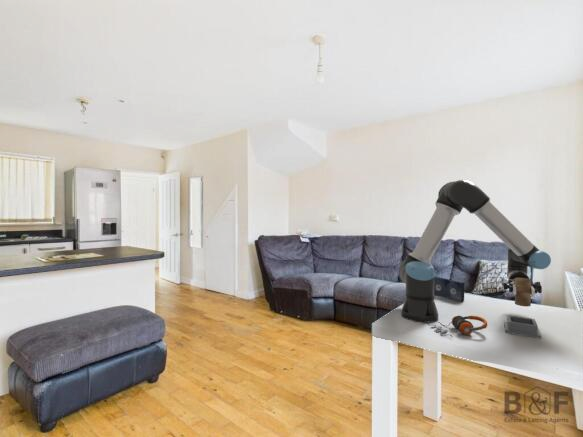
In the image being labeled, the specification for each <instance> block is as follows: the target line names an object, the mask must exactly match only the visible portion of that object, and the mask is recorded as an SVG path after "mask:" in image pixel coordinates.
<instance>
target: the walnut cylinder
mask: <svg viewBox="0 0 583 437" xmlns="http://www.w3.org/2000/svg"><path fill="white" fill-rule="evenodd" d="M531 281H532V279H531V278H529V279H528V278H515V286H516V295H514V304H515V305H517V306H519V307H531V306H532V305H531V304H532V303H531V302H532V301H531V300H532V299H531V298H532V295H531Z"/></svg>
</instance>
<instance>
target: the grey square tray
mask: <svg viewBox="0 0 583 437" xmlns="http://www.w3.org/2000/svg"><path fill="white" fill-rule="evenodd" d="M506 316H507V317H506V321H505V320H504V321H503V325H504V332H505V333H507V334H513V335H518V336H519V335H520V336H525V337H531V338H535V339H536V338H537V339H542V334H541V332H540V329H539V326H538V324H537V321H536V319H535V318H529V317H521V316H517V315H516V316H515V315H506Z"/></svg>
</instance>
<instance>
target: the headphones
mask: <svg viewBox="0 0 583 437" xmlns="http://www.w3.org/2000/svg"><path fill="white" fill-rule="evenodd" d="M469 320H474V321H479V322H482V323H483V324H482V325H481V326H476V327H474V325H473V323H472V322H471V321H469ZM430 323H438V324H440V327H438V326H437V325H436V324H434V325H433V326H431V327H430V329H435V330H434V331H433V332H435V333H436V334H439V333H440V336H441V337H447V333H448V332H449V331H448V330H443V328H446V329H450V330H453V328H451V327H449V326H450V324H452V326H453V327H454V330H456V331H459V333H460V334H463V335H466V336H467V335H471V334H472V333H473V332H475V331H480V330H484V329H487V328H488V321H487V320H486V319H485V318H484V317H482V316H478V315H467V316H466V315H465V316H462V315H455V316H453V317H452V318H451V322H449V323H448V325H447V326H446V325H445V324H442V323H441V322H440V321H438V320H437V321H433V322H427V324H428V326H430ZM444 334H445V335H444ZM449 336H450V337H451V338H453V335H452V334H449Z"/></svg>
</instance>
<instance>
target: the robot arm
mask: <svg viewBox="0 0 583 437" xmlns="http://www.w3.org/2000/svg"><path fill="white" fill-rule="evenodd" d="M435 207H436V209H435V210H434V213H433V214H432V216H431V218H430V220H429V221H428V223H427V226H426V227H425V229H424V231H423V232H422V234H421V237H420V239H419V241H418V242H417V244H416V245H415V248H414V250H413V251H412V252H410V253H408V254H407V256H406V257H405V259H404V260H402V262H401V263H400V264H399V265H398V269H397V270H398V271H397V273H398V276H399V279H400V280H401V282H402V283H404V284H405V300H404V301H403V304H402V307H401V316H402V317H403V318H404V319H406V320H410V321H413V322H418V323H419V322H420V323H429V322H431V323H434V322H433V321H437V322H438V320H439V310H438V309H437V306H436V302H435V295H434V276H436V273H435V268H434V266H433V265H432V261H431V260H432V258H433V257H434V255H435V254H436V251H437V249H438V248H439V246H440V244H441V242H442V240H443V238H444V236H445V235H446V232H447V231H448V229H449V227H450V225H451V224H452V222H453V220H454V219H455V218H454V217H455V216H458V215H460V214H461V212H462V210H463V209H465V210H466V211H467V212H469V214H472V215H473V214H474V215H475V216H477V218H478V219H479V220H480V221H481V222H483V224H485V226H486V227H487V228H488V229H489V230H490V231H492V232H493V234H495V235H496V237H497V238H499V239H500V240H501V241H502V242H503V243H504V244H505V245H506V246H507V250H506V251H507V272H506V277H507V279H505V278H501V280H500V281H501V283H500V284H501V285H502V286H503V290H506V291H507V290H508V292H509V293H512V294H513V295H514V296H515V295H516V286H515V278H528V279H530V277H529V276H528V267H530V268H531V269H535V270H545V269H547V268H549V266H550V265H551V262H552V258H551V256H550V255H549V253H547V252H545V251H542V250H540V249H539V248H538V247H537V246H536V245H534V243H532V242H531V241H530V240H529V238H528V237H526V236H525V235H524V234H523V233H522V232H521V231H520V229H519V228H517V227H516V226H515V225H514V224H513V223H512V221H510V220H509V219H508V217H506V216H505V215H504V214H503V213H502V212H501V211H500V210H499V209H498V208H497V207H496V206H495V205H494V204H493V203H491V197H489V196H488V195H487V194H486V193H485V192H484V191H483V190H482V189H481V188H480V187H479V186H478V185H476V184H475V183H474V182H472V181H471V180H466V179H459V180H456V181H455V180H454V181H449V182H446V183H445V184H444V185H442V186H441V188H440V189H439V190H438V196H437V199H436V201H435ZM542 287H543V286H542V285H541V282H540V281H534V282H533V281H532V280H531V298H535V297H536V294H542V292H543V290H542V289H543V288H542Z"/></svg>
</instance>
